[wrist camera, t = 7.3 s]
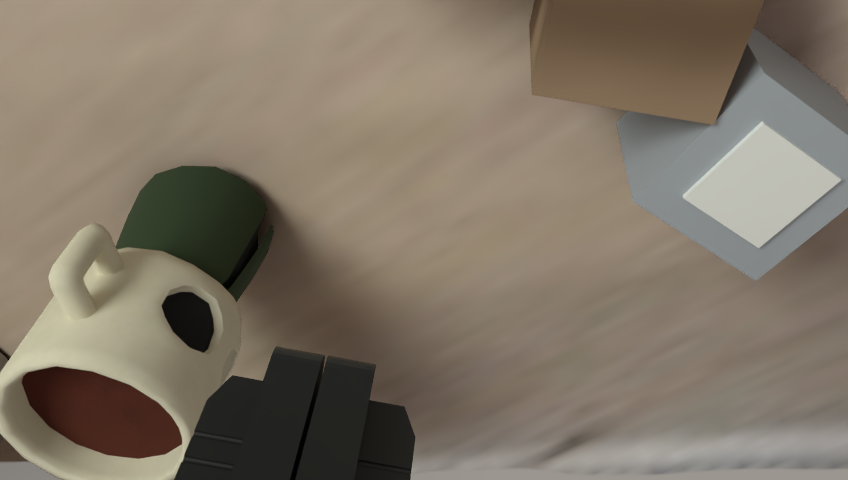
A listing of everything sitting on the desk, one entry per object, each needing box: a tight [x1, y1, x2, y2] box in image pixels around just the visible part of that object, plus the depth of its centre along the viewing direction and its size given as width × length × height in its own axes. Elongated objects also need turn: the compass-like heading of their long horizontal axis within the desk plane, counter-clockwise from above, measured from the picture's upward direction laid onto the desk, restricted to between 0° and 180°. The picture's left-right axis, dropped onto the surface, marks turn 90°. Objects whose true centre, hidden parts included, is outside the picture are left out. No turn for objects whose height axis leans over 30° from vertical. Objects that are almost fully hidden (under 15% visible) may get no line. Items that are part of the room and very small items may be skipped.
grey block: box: [616, 28, 848, 281], centre depth 30 cm, size 6×6×6 cm
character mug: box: [0, 166, 274, 480], centre depth 32 cm, size 11×7×13 cm, turn 8°
